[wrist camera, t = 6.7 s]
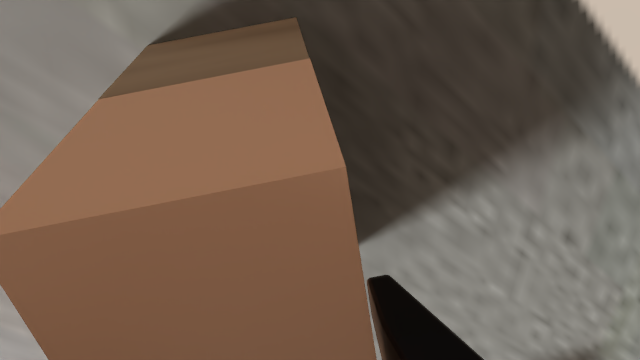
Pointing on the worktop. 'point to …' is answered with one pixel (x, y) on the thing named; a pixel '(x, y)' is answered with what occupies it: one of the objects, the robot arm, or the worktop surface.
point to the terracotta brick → (193, 228)
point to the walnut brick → (212, 56)
